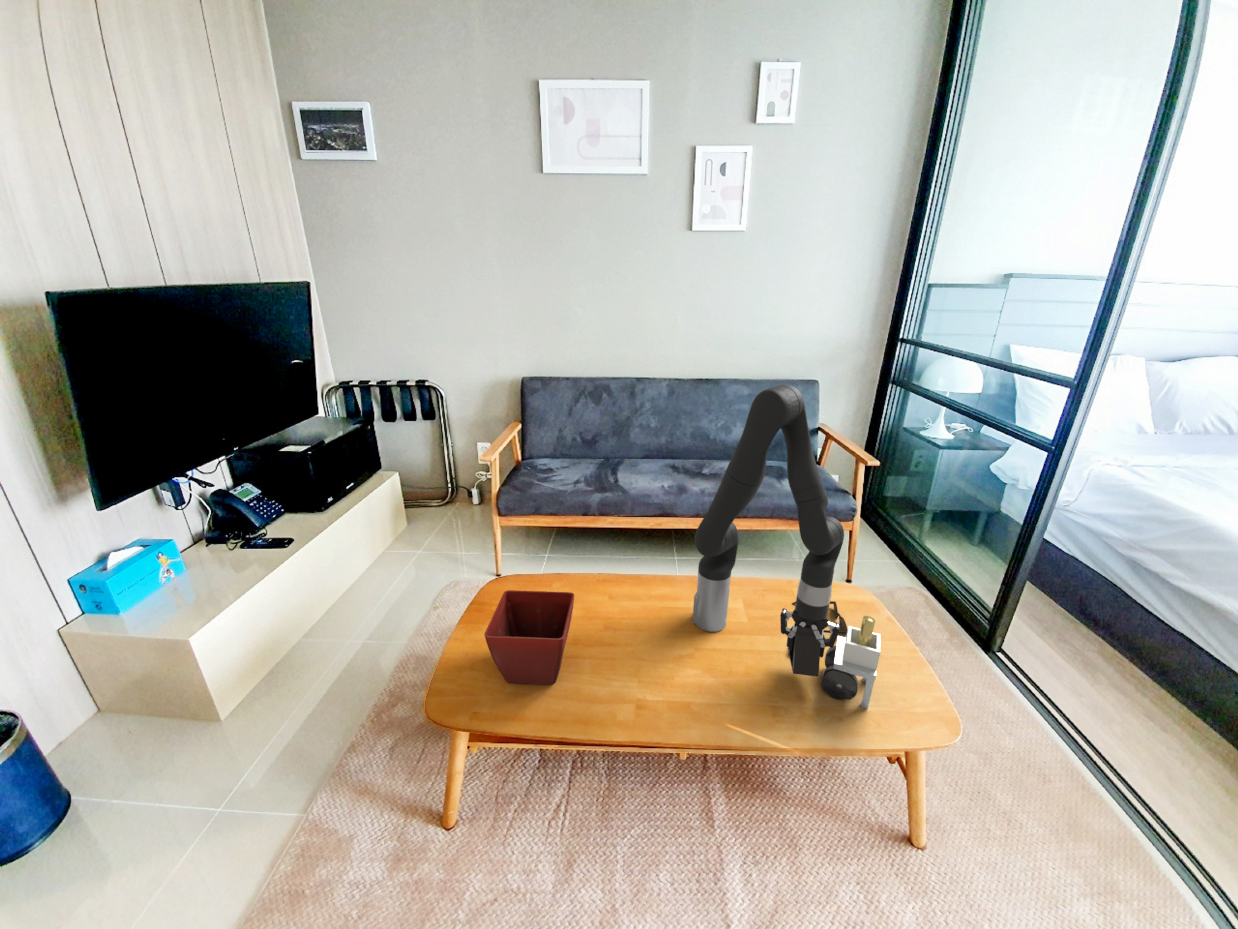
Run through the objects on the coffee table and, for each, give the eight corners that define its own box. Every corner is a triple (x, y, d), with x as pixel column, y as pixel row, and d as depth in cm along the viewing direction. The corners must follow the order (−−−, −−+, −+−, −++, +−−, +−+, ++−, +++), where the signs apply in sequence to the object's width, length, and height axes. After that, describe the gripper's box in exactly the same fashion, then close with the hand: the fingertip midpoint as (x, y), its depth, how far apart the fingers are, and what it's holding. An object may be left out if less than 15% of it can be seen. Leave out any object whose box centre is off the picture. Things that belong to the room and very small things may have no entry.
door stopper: (818, 677, 124) (825, 637, 120) (792, 674, 125) (799, 634, 121) (811, 652, 132) (818, 614, 128) (787, 649, 133) (793, 611, 129)
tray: (843, 660, 121) (846, 643, 119) (845, 642, 127) (848, 625, 125) (876, 670, 118) (880, 652, 116) (876, 651, 124) (880, 634, 122)
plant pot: (508, 640, 142) (504, 589, 136) (576, 643, 141) (574, 591, 136) (488, 692, 124) (482, 636, 119) (565, 696, 124) (563, 639, 118)
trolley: (819, 694, 125) (825, 660, 121) (823, 665, 134) (829, 633, 130) (868, 710, 120) (876, 675, 116) (869, 679, 129) (876, 646, 126)
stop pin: (855, 655, 122) (863, 621, 118) (855, 649, 124) (862, 614, 120) (867, 658, 121) (875, 624, 117) (866, 652, 123) (874, 617, 120)
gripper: (780, 596, 122) (772, 652, 128) (844, 612, 116) (833, 671, 122) (785, 580, 128) (777, 635, 134) (846, 595, 122) (836, 652, 128)
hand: (804, 652), depth 128 cm, fingers closed on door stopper, 6 cm apart
